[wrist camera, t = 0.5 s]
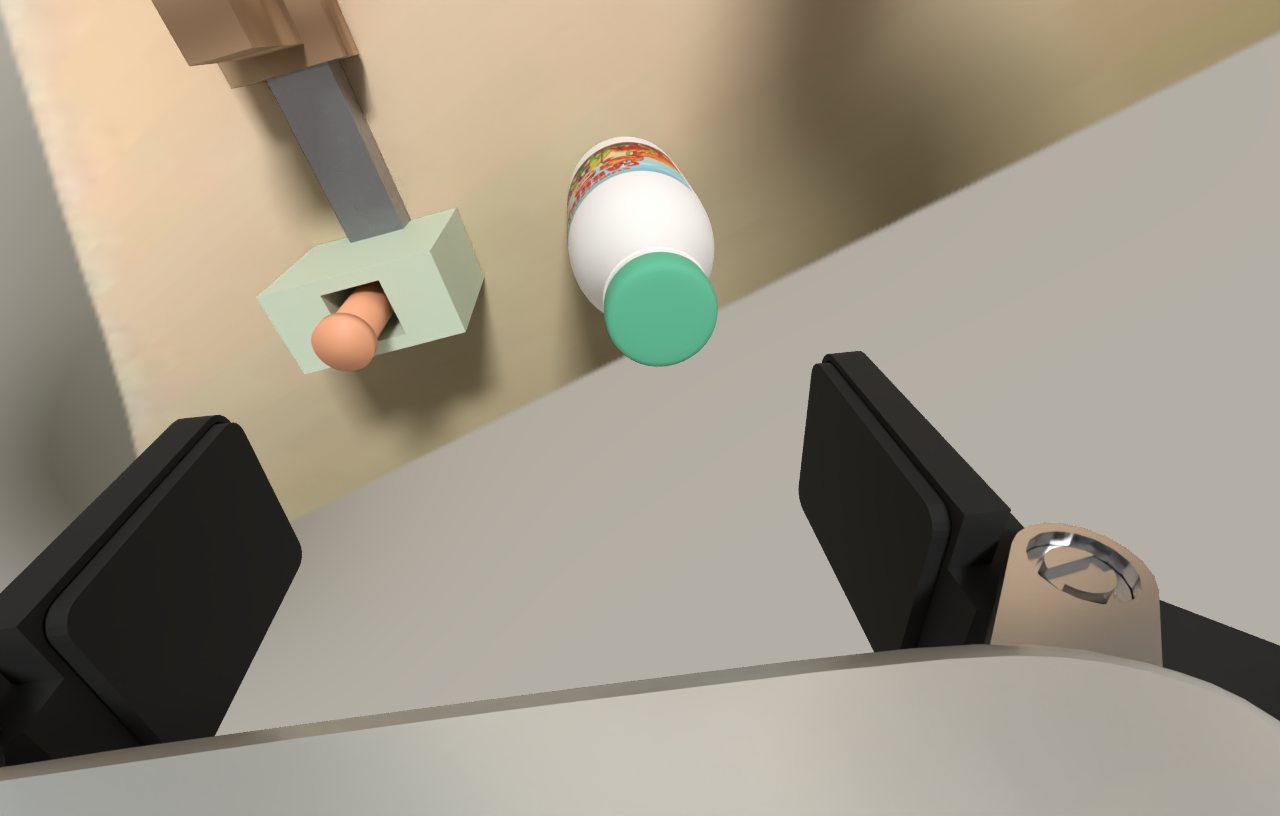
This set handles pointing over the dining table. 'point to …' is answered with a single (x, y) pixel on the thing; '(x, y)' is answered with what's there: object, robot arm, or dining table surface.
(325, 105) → the rail
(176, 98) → the dining table surface
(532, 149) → the dining table surface
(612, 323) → the milk bottle
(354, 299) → the gauge plunger
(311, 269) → the cabinet
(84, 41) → the dining table surface
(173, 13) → the carriage
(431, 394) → the dining table surface
